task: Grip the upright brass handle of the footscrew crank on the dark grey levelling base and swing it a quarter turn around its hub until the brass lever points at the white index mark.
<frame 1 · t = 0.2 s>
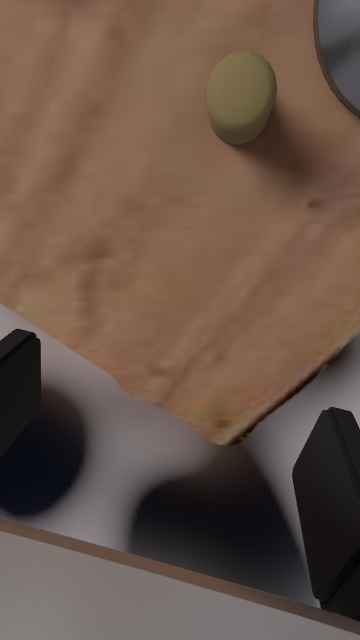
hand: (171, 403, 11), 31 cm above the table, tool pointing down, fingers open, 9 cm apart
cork: (239, 111, 33), on the table
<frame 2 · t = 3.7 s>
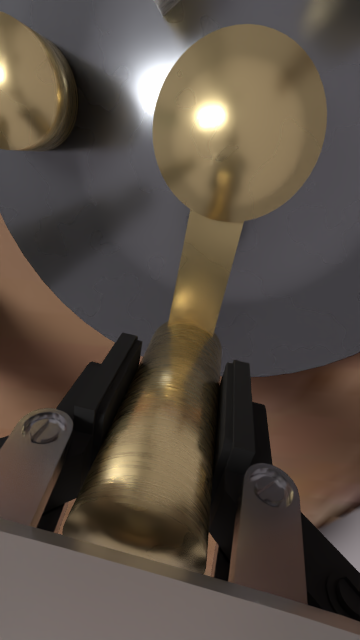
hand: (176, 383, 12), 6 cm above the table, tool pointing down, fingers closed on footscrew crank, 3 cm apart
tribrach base: (236, 140, 13), on the table
footscrew crank: (201, 274, 9), point 7 cm above the table, hinge at 0.0°, touching gripper
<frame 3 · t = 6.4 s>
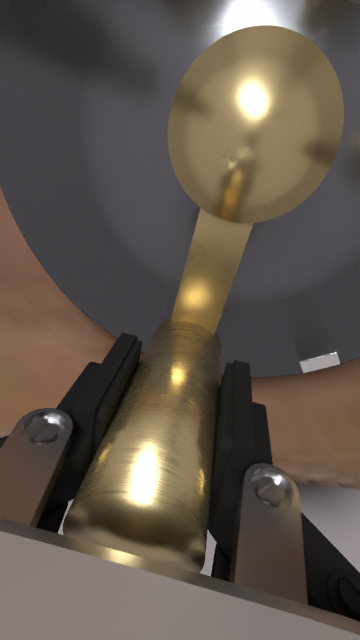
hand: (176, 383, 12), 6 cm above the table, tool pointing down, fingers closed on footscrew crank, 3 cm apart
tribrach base: (247, 141, 13), on the table
footscrew crank: (210, 275, 9), point 7 cm above the table, hinge at 52.1°, touching gripper
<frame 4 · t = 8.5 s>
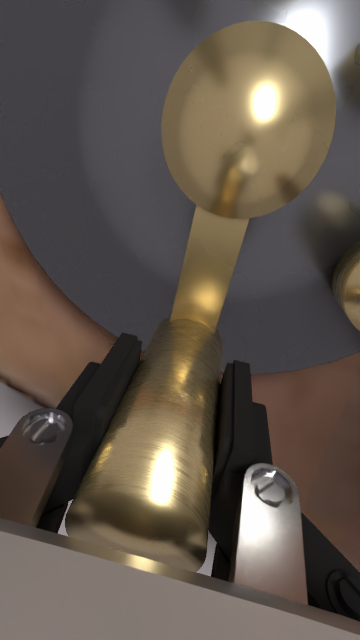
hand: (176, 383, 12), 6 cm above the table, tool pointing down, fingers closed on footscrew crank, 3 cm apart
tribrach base: (242, 138, 13), on the table
footscrew crank: (207, 270, 9), point 7 cm above the table, hinge at 88.3°, touching gripper
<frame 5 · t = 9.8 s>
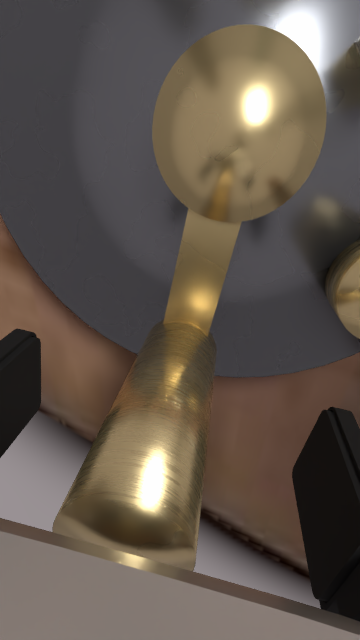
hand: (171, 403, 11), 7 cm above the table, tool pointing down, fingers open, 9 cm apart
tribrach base: (235, 141, 13), on the table
footscrew crank: (197, 274, 9), point 7 cm above the table, hinge at 88.4°
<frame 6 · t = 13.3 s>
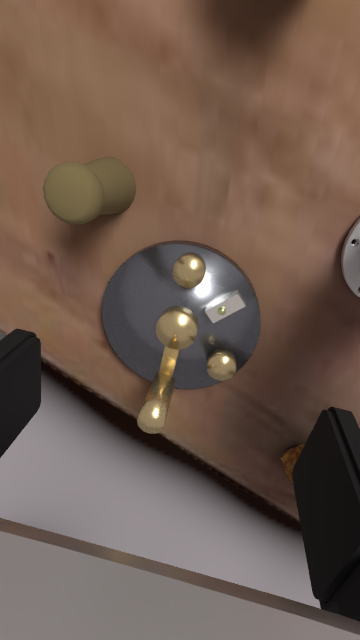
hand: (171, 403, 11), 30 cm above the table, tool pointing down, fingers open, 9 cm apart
stuffed squirrel: (315, 460, 51), on the table
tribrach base: (180, 317, 43), on the table
footscrew crank: (166, 367, 39), point 7 cm above the table, hinge at 88.4°
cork: (110, 186, 38), on the table
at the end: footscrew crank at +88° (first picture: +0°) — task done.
